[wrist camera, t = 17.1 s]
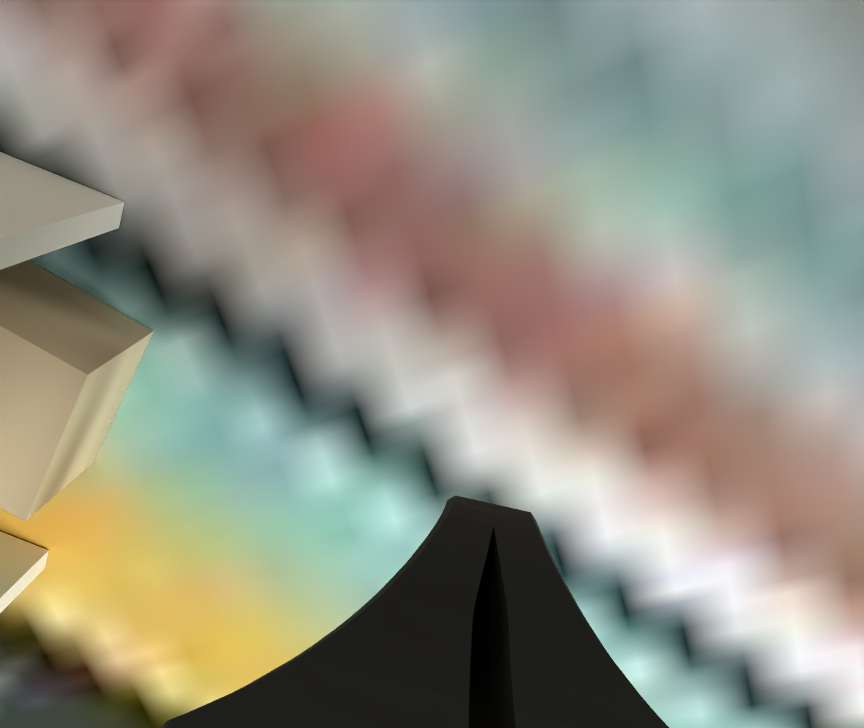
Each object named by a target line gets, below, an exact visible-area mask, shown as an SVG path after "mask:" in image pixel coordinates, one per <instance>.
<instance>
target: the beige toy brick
mask: <svg viewBox="0 0 864 728" xmlns="http://www.w3.org/2000/svg"><path fill="white" fill-rule="evenodd" d="M153 332H154V331H152V330H151V329H149V328H147V327H145V326H144V325H142V324H140V323H138V322H137V321H135V320H133V319H131V318H130V317H128V316H126V315H124V314H123V313H121V312H119V311H117V310H116V309H114V308H112V307H110V306H109V305H107V304H105V303H103V302H102V301H100V300H98V299H96V298H95V297H93V296H91V295H89V294H87V293H86V292H84V291H82V290H80V289H79V288H77V287H75V286H73V285H72V284H70V283H68V282H66V281H65V280H63V279H61V278H59V277H58V276H56V275H54V274H52V273H51V272H49V271H47V270H45V269H44V268H42V267H40V266H38V265H37V264H35V263H33V262H31V261H30V260H26V261H24V262H21V263H18V264H15V265H12V266H9V267H7V268H4V269H1V270H0V508H2V509H4V510H5V511H7V512H9V513H11V514H13V515H15V516H17V517H18V518H20V519H22V520H24V521H26V520H28V519H29V518H30V517H31V516H32V515H33V514H34V513H36V512H37V511H38V510H39V509H40V508H41V507H42V506H44V505H45V504H46V503H47V502H48V501H49V500H50V499H52V498H53V497H54V496H55V495H56V494H57V493H59V492H60V491H61V490H62V489H63V488H64V487H65V486H67V485H68V484H69V483H70V482H71V481H72V480H73V479H75V478H76V477H77V476H78V475H79V474H80V473H81V472H83V471H84V470H85V469H86V468H87V467H88V466H89V465H91V464H92V463H93V462H94V461H95V460H96V458H97V455H98V453H99V451H100V449H101V447H102V444H103V442H104V440H105V438H106V435H107V433H108V431H109V429H110V427H111V424H112V422H113V420H114V418H115V416H116V413H117V411H118V409H119V407H120V405H121V402H122V400H123V398H124V396H125V393H126V391H127V389H128V387H129V385H130V382H131V380H132V378H133V376H134V374H135V371H136V369H137V367H138V365H139V363H140V360H141V358H142V356H143V354H144V351H145V349H146V347H147V345H148V343H149V340H150V338H151V336H152V334H153Z"/></svg>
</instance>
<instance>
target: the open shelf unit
mask: <svg viewBox="0 0 864 728" xmlns="http://www.w3.org/2000/svg"><path fill="white" fill-rule="evenodd" d="M123 207H124V202H123V201H120V200H118V199H115V198H113V197H111V196H108V195H106V194H103V193H101V192H98V191H96V190H93V189H91V188H88V187H86V186H83V185H81V184H78V183H76V182H74V181H71V180H69V179H66V178H64V177H61V176H59V175H56V174H54V173H51V172H49V171H46V170H44V169H41V168H39V167H37V166H34V165H32V164H29V163H27V162H24V161H22V160H19V159H17V158H14V157H12V156H9V155H7V154H4V153H2V152H0V270H1V269H4V268H7V267H9V266H12V265H15V264H18V263H21V262H24V261H26V260H29V259H32V258H35V257H38V256H41V255H44V254H46V253H49V252H52V251H55V250H58V249H61V248H63V247H66V246H69V245H72V244H75V243H78V242H81V241H83V240H86V239H89V238H92V237H95V236H98V235H100V234H103V233H106V232H109V231H112V230H115V229H118V228H119V225H120V221H121V216H122V212H123ZM48 552H49V550H46V549H44V548H41V547H39V546H36V545H34V544H31V543H28V542H26V541H23V540H21V539H18V538H16V537H13V536H11V535H8V534H5V533H3V532H0V613H1V612H2V611H3V610H4V609H5V608H6V607H7V606H8V605H9V604H10V603H11V602H12V601H13V599H14V598H15V597H16V596H17V595H18V594H19V593H20V592H21V591H22V590H23V589H24V588H25V587H26V586H27V585H28V584H29V583H30V582H31V581H32V580H33V579H34V578H35V577H36V576H37V575H38V574H39V573H40V572H41V571H42V570H43V569H44V568H45V566H46V561H47V556H48Z"/></svg>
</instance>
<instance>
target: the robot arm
mask: <svg viewBox="0 0 864 728" xmlns="http://www.w3.org/2000/svg"><path fill="white" fill-rule="evenodd" d="M161 728H669V727H668V726H667V725H666V724H665V723H664V722H663V721H662V720H661V719H660V717H659V716H658V715H657V714H656V713H655V712H654V711H653V710H652V708H651V707H650V706H649V705H648V704H647V703H646V701H645V700H644V699H643V698H642V697H641V696H640V694H639V693H638V692H637V691H636V689H635V688H634V687H633V685H632V684H631V683H630V682H629V680H628V679H627V678H626V676H625V675H624V674H623V673H622V671H621V670H620V669H619V667H618V666H617V665H616V664H615V662H614V661H613V660H612V658H611V657H610V655H609V654H608V653H607V651H606V650H605V648H604V647H603V645H602V644H601V642H600V641H599V639H598V637H597V636H596V634H595V633H594V631H593V630H592V628H591V627H590V625H589V623H588V622H587V620H586V618H585V617H584V615H583V613H582V612H581V610H580V608H579V607H578V605H577V603H576V601H575V600H574V598H573V596H572V594H571V592H570V591H569V589H568V587H567V585H566V583H565V581H564V580H563V578H562V576H561V574H560V572H559V570H558V568H557V566H556V564H555V562H554V560H553V558H552V556H551V554H550V552H549V550H548V547H547V545H546V543H545V541H544V539H543V536H542V534H541V532H540V529H539V527H538V525H537V522H536V520H535V518H534V517H533V515H532V514H531V512H526V511H522V510H518V509H513V508H509V507H504V506H500V505H495V504H491V503H486V502H482V501H477V500H473V499H468V498H464V497H460V496H454V497H452V498H450V499H449V500H447V503H446V506H445V508H444V510H443V512H442V514H441V516H440V518H439V520H438V521H437V523H436V525H435V526H434V527H433V529H432V530H431V532H430V533H429V535H428V536H427V538H426V539H425V540H424V541H423V543H422V544H421V545H420V546H419V548H418V549H417V550H416V552H415V553H414V554H413V555H412V557H411V558H410V559H409V560H408V561H407V563H406V564H405V565H404V566H403V567H402V568H401V569H400V570H399V571H398V572H397V573H396V574H395V575H394V576H393V578H392V579H391V580H390V581H389V582H388V583H387V584H386V585H385V586H384V587H383V588H382V589H381V590H380V591H379V592H378V593H377V594H376V595H375V596H374V597H373V598H372V599H371V600H369V601H368V602H367V603H366V604H365V605H364V606H363V607H362V608H361V609H359V610H358V611H357V612H356V613H355V614H353V615H352V616H351V617H350V618H349V619H347V620H346V621H345V622H344V623H343V624H341V625H340V626H339V627H337V628H336V629H335V630H333V631H332V632H330V633H329V634H328V635H326V636H325V637H324V638H322V639H321V640H320V641H318V642H317V643H316V644H314V645H313V646H311V647H310V648H308V649H307V650H305V651H304V652H302V653H301V654H299V655H298V656H296V657H295V658H293V659H292V660H290V661H288V662H286V663H285V664H283V665H281V666H279V667H278V668H276V669H274V670H272V671H271V672H269V673H267V674H266V675H264V676H262V677H260V678H259V679H257V680H255V681H253V682H252V683H250V684H248V685H246V686H245V687H243V688H241V689H239V690H237V691H235V692H233V693H231V694H229V695H226V696H224V697H222V698H220V699H217V700H215V701H213V702H211V703H208V704H206V705H204V706H202V707H199V708H197V709H195V710H193V711H190V712H188V713H186V714H183V715H181V716H178V717H176V718H173V719H171V720H169V721H167V722H166V723H165V724H164V725H163V726H162V727H161Z"/></svg>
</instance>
